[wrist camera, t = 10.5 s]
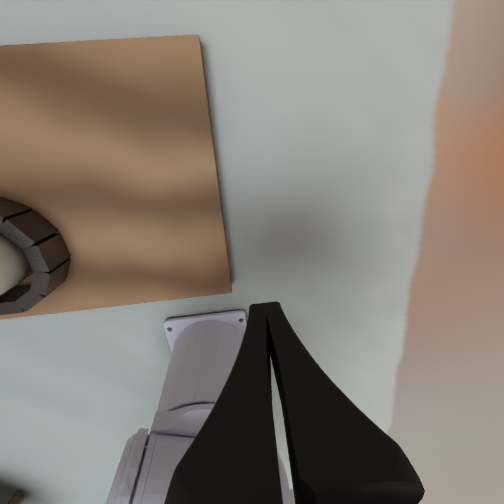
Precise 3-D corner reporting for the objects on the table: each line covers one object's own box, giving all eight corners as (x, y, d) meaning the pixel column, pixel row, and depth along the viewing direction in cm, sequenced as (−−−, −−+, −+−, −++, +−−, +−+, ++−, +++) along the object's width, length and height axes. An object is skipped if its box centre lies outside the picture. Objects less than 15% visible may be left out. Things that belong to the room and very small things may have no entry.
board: (231, 283, 23) (231, 292, 22) (-14, 311, 22) (-30, 322, 20) (200, 44, 16) (198, 34, 14) (-174, 65, 14) (-216, 57, 13)
